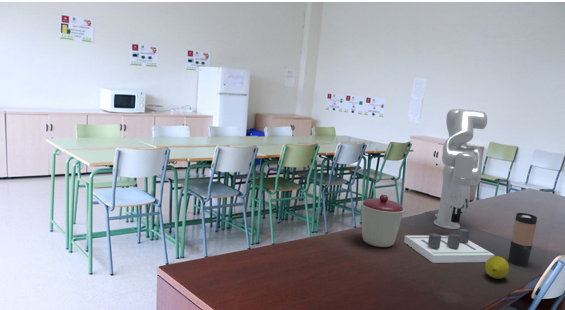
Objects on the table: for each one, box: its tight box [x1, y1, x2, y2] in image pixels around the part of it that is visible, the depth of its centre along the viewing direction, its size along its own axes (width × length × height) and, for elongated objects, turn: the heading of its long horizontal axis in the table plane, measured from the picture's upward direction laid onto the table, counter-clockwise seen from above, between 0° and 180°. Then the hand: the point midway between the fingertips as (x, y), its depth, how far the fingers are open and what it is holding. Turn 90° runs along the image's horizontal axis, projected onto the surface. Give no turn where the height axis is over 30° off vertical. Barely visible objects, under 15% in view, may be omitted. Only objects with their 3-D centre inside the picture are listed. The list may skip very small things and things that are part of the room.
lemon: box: [484, 255, 510, 280], centre depth 165 cm, size 11×8×8 cm
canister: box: [360, 194, 406, 248], centre depth 190 cm, size 18×18×21 cm
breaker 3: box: [457, 228, 471, 243], centre depth 193 cm, size 3×4×5 cm
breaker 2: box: [447, 233, 461, 248], centre depth 185 cm, size 3×4×5 cm
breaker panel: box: [403, 235, 496, 264], centre depth 189 cm, size 22×28×3 cm
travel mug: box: [507, 212, 538, 267], centre depth 183 cm, size 8×8×20 cm
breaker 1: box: [428, 233, 442, 248], centre depth 183 cm, size 3×4×5 cm
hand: (454, 222), depth 198 cm, fingers closed
